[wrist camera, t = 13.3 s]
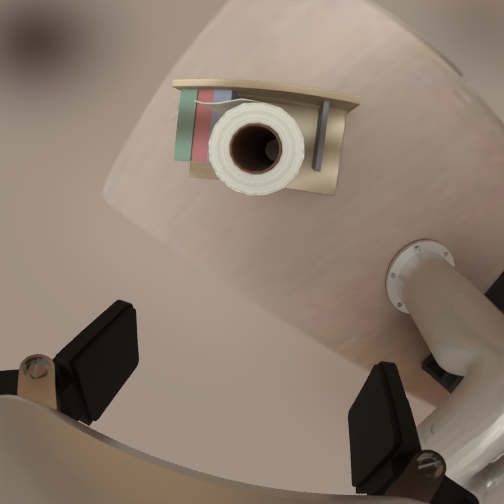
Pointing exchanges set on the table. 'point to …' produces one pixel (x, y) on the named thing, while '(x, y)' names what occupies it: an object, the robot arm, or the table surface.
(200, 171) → the book rack
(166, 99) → the table surface
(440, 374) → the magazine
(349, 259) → the table surface
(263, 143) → the paper towel roll
